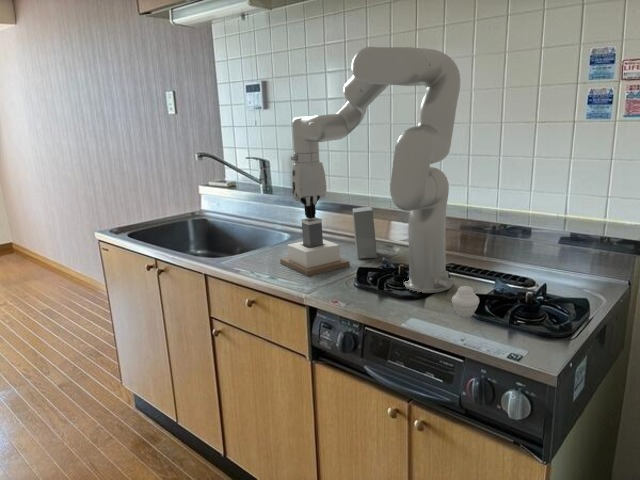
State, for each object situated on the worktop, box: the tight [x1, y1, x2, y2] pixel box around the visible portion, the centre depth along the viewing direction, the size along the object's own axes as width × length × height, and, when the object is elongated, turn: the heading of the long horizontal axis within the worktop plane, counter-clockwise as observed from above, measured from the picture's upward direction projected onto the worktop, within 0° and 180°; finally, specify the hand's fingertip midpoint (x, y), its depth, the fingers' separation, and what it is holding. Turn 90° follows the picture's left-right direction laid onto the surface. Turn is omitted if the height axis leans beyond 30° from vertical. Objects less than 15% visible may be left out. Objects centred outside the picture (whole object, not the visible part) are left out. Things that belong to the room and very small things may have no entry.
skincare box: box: [352, 206, 378, 260], centre depth 166 cm, size 8×7×16 cm
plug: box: [300, 216, 324, 248], centre depth 160 cm, size 5×5×9 cm
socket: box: [279, 238, 351, 277], centre depth 161 cm, size 18×15×6 cm
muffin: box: [451, 285, 480, 318], centre depth 116 cm, size 6×6×7 cm
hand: (310, 217), depth 158 cm, fingers closed
